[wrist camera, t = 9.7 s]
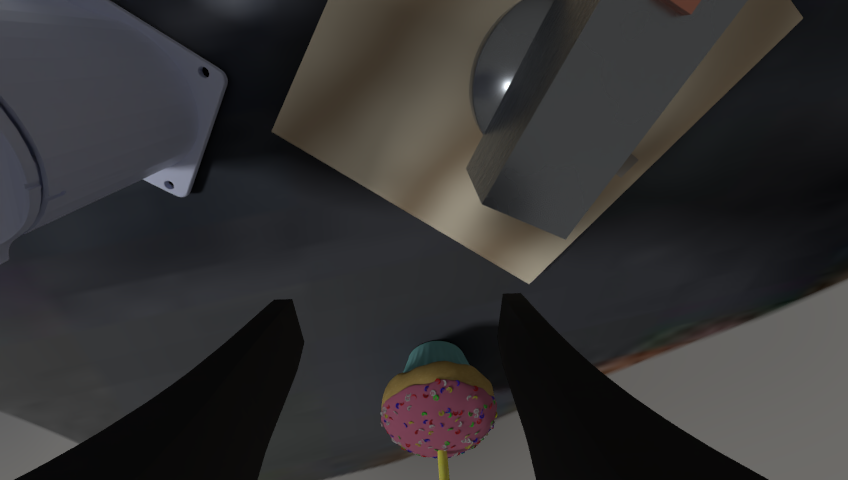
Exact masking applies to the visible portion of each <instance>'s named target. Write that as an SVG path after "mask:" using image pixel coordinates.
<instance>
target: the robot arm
mask: <svg viewBox="0 0 848 480" xmlns="http://www.w3.org/2000/svg"><path fill="white" fill-rule="evenodd" d="M203 67H205V68H206V69H207V70H208V71H209V77H206V76H205V75H204V74H203V72H202V69H203ZM227 84H228V79H227V76H226V74H225V72H224V71H222V70H221V69H220V68H218V67H217V66H215V65H213V64H212V63H210V62H209V61H207V60H205V59H204V58H202V57H201V56H199V55H197V54H196V53H194V52H192V51H191V50H189V49H188V48H186V47H184V46H183V45H181V44H180V43H178V42H176V41H175V40H173V39H172V38H170V37H168V36H167V35H165V34H164V33H162V32H160V31H159V30H157V29H155V28H154V27H152V26H151V25H149V24H147V23H146V22H144V21H143V20H141V19H139V18H138V17H136V16H135V15H133V14H131V13H130V12H128V11H127V10H125V9H123V8H122V7H120V6H118V5H117V4H115V3H114V2H112V1H110V0H0V264H2V263H4V262H6V261H8V260H9V253H8V251H9V246H10V244H11V243H12V241H14V240H15V239H16V238H17V237H19V236H21V235H24V234H26V233H28V232H30V231H32V230H35V229H37V228H39V227H41V226H43V225H45V224H47V223H50V222H52V221H54V220H56V219H58V218H60V217H62V216H65V215H67V214H69V213H71V212H73V211H75V210H77V209H80V208H82V207H84V206H86V205H88V204H90V203H92V202H95V201H97V200H99V199H101V198H103V197H105V196H107V195H110V194H112V193H114V192H116V191H118V190H120V189H122V188H125V187H127V186H129V185H131V184H133V183H135V182H137V181H140V180H142V179H143V180H145V181H147V182H149V183H151V184H153V185H155V186H157V187H159V188H161V189H163V190H166V191H168V192H170V193H172V194H174V195H176V196H178V197H185V196H187V195H188V194H189V193H190V192H191V189H192V186H193V183H194V181H195V178H196V175H197V172H198V169H199V166H200V163H201V160H202V157H203V154H204V151H205V149H206V146H207V143H208V140H209V137H210V134H211V131H212V128H213V125H214V122H215V119H216V116H217V114H218V111H219V108H220V105H221V102H222V99H223V96H224V93H225V90H226V87H227ZM169 181H170V182H172V183H173V185H174V187H173V186H171V185H170V184H169ZM497 338H498V344H499V349H500V354H501V359H502V363H503V367H504V370H505V373H506V377H507V380H508V383H509V386H510V389H511V392H512V395H513V398H514V401H515V404H516V407H517V410H518V413H519V416H520V419H521V423H522V426H523V428H524V432H525V435H526V439H527V442H528V446H529V451H530V455H531V459H532V464H533V468H534V472H535V476H536V480H768V479H766V478H765V477H763V476H761V475H759V474H757V473H756V472H754V471H752V470H750V469H749V468H747V467H745V466H743V465H741V464H740V463H738V462H736V461H734V460H732V459H730V458H729V457H727V456H725V455H723V454H722V453H720V452H718V451H716V450H714V449H713V448H711V447H709V446H708V445H706V444H705V443H703V442H701V441H700V440H698V439H696V438H695V437H693V436H692V435H690V434H688V433H686V432H685V431H683V430H682V429H680V428H678V427H677V426H675V425H674V424H672V423H671V422H669V421H668V420H666V419H664V418H663V417H662V416H660V415H659V414H657V413H656V412H654V411H653V410H651V409H650V408H649V407H647V406H646V405H644V404H643V403H641V402H640V401H638V400H637V399H636V398H634V397H633V396H632V395H630V394H629V393H627V392H626V391H625V390H623V389H622V388H621V387H619V386H618V385H617V384H616V383H614V382H613V381H612V380H611V379H609V378H608V377H607V376H606V375H604V374H603V373H602V372H600V371H599V370H598V369H597V368H596V367H595V366H593V365H592V364H591V363H590V362H589V361H588V360H586V359H585V358H584V357H583V356H582V355H581V354H580V353H579V352H578V351H576V350H575V349H574V348H573V347H572V346H571V345H570V344H569V343H568V342H567V341H566V340H565V339H564V338H563V337H562V336H561V335H560V334H559V333H558V332H557V331H556V330H555V329H554V328H553V327H552V326H551V325H550V324H549V323H548V322H547V321H546V320H545V319H544V318H543V317H542V316H541V314H540V313H539V312H538V311H537V310H536V309H535V308H534V307H533V306H532V305H531V304H530V303H529V301H528V300H527V299H526V298H525V297H524V296H523V295H522V294H521V293H514V294H503V297H502V305H501V312H500V320H499V327H498V335H497ZM303 346H304V339H303V336H302V332H301V329H300V325H299V322H298V318H297V315H296V311H295V307H294V304H293V300H292V299H286V300H274V301H272V302H271V303H270V304H269V305H268V306H266V307H265V308H264V309H263V310H262V311H261V312H260V313H258V314H257V315H256V316H255V317H254V318H253V319H252V320H251V321H250V322H248V323H247V324H246V325H245V326H244V327H243V328H242V329H240V330H239V331H238V332H237V333H236V334H235V335H234V336H232V337H231V338H230V339H229V340H228V341H227V342H226V343H224V344H223V345H222V346H221V347H220V348H218V349H217V350H216V351H215V352H213V353H212V354H211V355H210V356H208V357H207V358H206V359H205V360H204V361H202V362H201V363H200V364H199V365H197V366H196V367H195V368H194V369H192V370H191V371H190V372H189V373H187V374H186V375H185V376H183V377H182V378H181V379H179V380H178V381H176V382H175V383H174V384H172V385H171V386H170V387H168V388H167V389H165V390H164V391H162V392H161V393H160V394H158V395H157V396H155V397H154V398H152V399H151V400H150V401H148V402H147V403H145V404H143V405H142V406H140V407H139V408H137V409H136V410H134V411H132V412H131V413H129V414H128V415H126V416H125V417H123V418H122V419H120V420H118V421H117V422H115V423H114V424H112V425H111V426H109V427H107V428H106V429H104V430H103V431H101V432H99V433H98V434H96V435H94V436H92V437H91V438H89V439H87V440H86V441H84V442H82V443H80V444H79V445H77V446H76V447H74V448H72V449H70V450H68V451H66V452H65V453H63V454H61V455H59V456H58V457H56V458H54V459H52V460H51V461H49V462H47V463H45V464H43V465H41V466H39V467H38V468H36V469H34V470H32V471H30V472H28V473H26V474H25V475H22V476H20V477H19V478H17V479H15V480H257V479H258V476H259V472H260V469H261V466H262V462H263V459H264V455H265V452H266V449H267V447H268V444H269V441H270V438H271V436H272V433H273V431H274V428H275V426H276V423H277V421H278V418H279V415H280V413H281V410H282V408H283V405H284V403H285V400H286V398H287V395H288V393H289V390H290V388H291V385H292V383H293V380H294V377H295V375H296V372H297V369H298V365H299V362H300V358H301V354H302V350H303Z"/></svg>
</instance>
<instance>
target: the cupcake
mask: <svg viewBox="0 0 848 480" xmlns="http://www.w3.org/2000/svg"><path fill="white" fill-rule="evenodd" d="M496 409H497V403H496V400H495V398H494V394H493V388H492V384H491V383H490V381H489V380H488V379H487V378H485V377H484V376H483V375H482V374H481V373H480V372H479V371H478V370H477V369H476V368H474V367H473V366H471V365H469V363H468V361H467V360H466V358H465V356H464V354H463V352H462V351H461V349H460V348H458V347H457V346H456V345H454V344H452V343H449V342H445V341H431V342H426V343H424V344H421V345H419V346H418V347H416V348H415V349H414V350H413V351H412V352H411V354H410V356H409V359H408V362H407V364H406V367H405V369H404V372H403V373H399V374H397V375H396V376H395V377H394V378H393V379H392V380H391V381H390V382H389V383H388V385H387V387H386V389H385V392H384V395H383V400H382V412H381V413H380V414H381V415H382V417H381V421H382V422H381V426H382V427H385V429H386V431H387V433H388V434H389V435H390V436H391V437H392V441H393V440H394V441H393V442H394V443H396V444H399V445H400V446H401V448H402V449H403V450H406V449H407V450H408V452H412V453H414V454H416V455H419V456H423V457H433V458H438V465H439V479H440V480H449V469H448V458H450V457H451V456H454V455H455V456H458V455H459V454H460V453H461V454H463V453H464V452H465V451H466V450H470V449H473V448H475V447H476V446H477V445H478V444H479V443H480V441H481V440H483V439H484V437H486V436H487V435H488V432H489V431H490V430H491V429H490V428H492V429H493V428H494V423H495V422H494V419H495V418H496V417H497V412H496ZM382 423H383V425H382Z"/></svg>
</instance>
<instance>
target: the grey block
mask: <svg viewBox="0 0 848 480" xmlns="http://www.w3.org/2000/svg"><path fill="white" fill-rule="evenodd" d="M747 1H748V0H521V1H519V2H517V3H516V4H515V5H513V6H512V7H510V8H509V9H508V10H507V11H506V12H505V13H503V14H502V15H501V16H500V17H499V18H498V19H497V21H496V22H495V23H494V24H493V25H492V26H491V28H490V29H489V31H488V32H487V34H486V35H485V37H484V38H483V40H482V42H481V44H480V46H479V48H478V50H477V53H476V56H475V58H474V61H473V65H472V69H471V74H470V81H469V98H470V106H471V110H472V114H473V117H474V120H475V123H476V124H477V126H478V128H479V130H480V132H481V133H482V134H483V137H482V139H481V140H480V142H479V144H478V146H477V148H476V150H475V152H474V154H473V156H472V158H471V160H470V161H469V163H468V165H467V167H466V170H467V172H468V174H469V177H470V179H471V181H472V183H473V186H474V188H475V190H476V193H477V195H478V197H479V199H480V202H481V204H482V205H485V206H487V207H489V208H492V209H494V210H496V211H499V212H501V213H503V214H506V215H508V216H511V217H513V218H515V219H518V220H520V221H522V222H525V223H527V224H530V225H532V226H534V227H537V228H539V229H541V230H544V231H546V232H549V233H551V234H553V235H556V236H558V237H560V238H563V239H565V240H566V239H567V237H568V236H569V235H570V233H571V232H572V231H573V229H574V228H575V227H576V225H577V224H578V223H579V221H580V220H581V219H582V218H583V216H584V215H585V214H586V212H587V211H588V210H589V208H590V207H591V206H592V204H593V203H594V202H595V200H596V199H597V198H598V196H599V195H600V194H601V193H602V191H603V190H604V189H605V187H606V186H607V185H608V183H609V182H610V181H611V179H612V178H613V177H614V175H615V174H616V173H617V172H618V170H619V169H620V168H621V166H622V165H623V164H624V162H625V161H626V160H627V158H628V157H629V156H630V154H631V153H632V152H633V151H634V149H635V148H636V147H637V145H638V144H639V143H640V141H641V140H642V139H643V137H644V136H645V135H646V133H647V132H648V131H649V129H650V128H651V127H652V126H653V124H654V123H655V122H656V120H657V119H658V118H659V116H660V115H661V114H662V112H663V111H664V110H665V108H666V107H667V106H668V105H669V103H670V102H671V101H672V99H673V98H674V97H675V95H676V94H677V93H678V91H679V90H680V89H681V87H682V86H683V85H684V83H685V82H686V81H687V80H688V78H689V77H690V76H691V74H692V73H693V72H694V70H695V69H696V68H697V66H698V65H699V64H700V62H701V61H702V60H703V59H704V57H705V56H706V55H707V53H708V52H709V51H710V49H711V48H712V47H713V45H714V44H715V43H716V41H717V40H718V39H719V37H720V36H721V35H722V34H723V32H724V31H725V30H726V28H727V27H728V26H729V24H730V23H731V22H732V20H733V19H734V18H735V16H736V15H737V14H738V13H739V11H740V10H741V9H742V7H743V6H744V5H745V3H746V2H747Z"/></svg>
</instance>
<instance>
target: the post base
mask: <svg viewBox="0 0 848 480" xmlns="http://www.w3.org/2000/svg"><path fill="white" fill-rule="evenodd" d="M519 1H521V0H328V1H327V4H326V6H325V8H324V11H323V13H322V15H321V18H320V20H319V22H318V25H317V27H316V29H315V32H314V34H313V36H312V39H311V41H310V43H309V45H308V48H307V50H306V52H305V55H304V57H303V59H302V62H301V64H300V66H299V69H298V71H297V73H296V76H295V78H294V80H293V83H292V85H291V87H290V90H289V92H288V94H287V97H286V99H285V101H284V104H283V106H282V108H281V111H280V113H279V115H278V118H277V120H276V122H275V124H274V127H273V129H272V131H271V132H273V133H275V134H276V135H278V136H280V137H281V138H283V139H285V140H286V141H288V142H290V143H292V144H293V145H295V146H297V147H298V148H300V149H302V150H303V151H305V152H307V153H308V154H310V155H312V156H314V157H315V158H317V159H319V160H320V161H322V162H324V163H325V164H327V165H329V166H330V167H332V168H334V169H335V170H337V171H339V172H341V173H342V174H344V175H346V176H347V177H349V178H351V179H352V180H354V181H356V182H357V183H359V184H361V185H362V186H364V187H366V188H368V189H369V190H371V191H373V192H374V193H376V194H378V195H379V196H381V197H383V198H384V199H386V200H388V201H389V202H391V203H393V204H395V205H396V206H398V207H400V208H401V209H403V210H405V211H406V212H408V213H410V214H411V215H413V216H415V217H417V218H418V219H420V220H422V221H423V222H425V223H427V224H428V225H430V226H432V227H433V228H435V229H437V230H438V231H440V232H442V233H444V234H445V235H447V236H449V237H450V238H452V239H454V240H455V241H457V242H459V243H460V244H462V245H464V246H465V247H467V248H469V249H471V250H472V251H474V252H476V253H477V254H479V255H481V256H482V257H484V258H486V259H487V260H489V261H491V262H493V263H494V264H496V265H498V266H499V267H501V268H503V269H504V270H506V271H508V272H509V273H511V274H513V275H514V276H516V277H518V278H520V279H521V280H523V281H525V282H526V283H528V284H530V283H531V282H532V281H533V280H534V279H535V278H536V277H537V276H538V275H539V274H540V273H541V272H542V271H543V270H544V269H545V268H546V267H547V266H548V265H549V264H550V263H552V262H553V261H554V260H555V259H556V258H557V257H558V256H559V255H560V254H561V253H562V252H563V251H564V250H565V249H566V248H567V247H568V246H569V245H570V244H571V243H572V242H573V241H574V240H575V239H576V238H577V237H578V236H579V235H580V234H581V233H582V232H583V231H584V230H586V229H587V228H588V227H589V226H590V225H591V224H592V223H593V222H594V221H595V220H596V219H597V218H598V217H599V216H600V215H601V214H602V213H603V212H604V211H605V210H606V209H607V208H608V207H609V206H610V205H611V204H612V203H613V202H614V201H615V200H616V199H617V198H619V197H620V196H621V195H622V194H623V193H624V192H625V191H626V190H627V189H628V188H629V187H630V186H631V185H632V184H633V183H634V182H635V181H636V180H637V179H638V178H639V177H640V176H641V175H642V174H643V173H644V172H645V171H646V170H647V169H648V168H649V167H650V166H652V165H653V164H654V163H655V162H656V161H657V160H658V159H659V158H660V157H661V156H662V155H663V154H664V153H665V152H666V151H667V150H668V149H669V148H670V147H671V146H672V145H673V144H674V143H675V142H676V141H677V140H678V139H679V138H680V137H681V136H682V135H683V134H685V133H686V132H687V131H688V130H689V129H690V128H691V127H692V126H693V125H694V124H695V123H696V122H697V121H698V120H699V119H700V118H701V117H702V116H703V115H704V114H705V113H706V112H707V111H708V110H709V109H710V108H711V107H712V106H713V105H714V104H715V103H716V102H718V101H719V100H720V99H721V98H722V97H723V96H724V95H725V94H726V93H727V92H728V91H729V90H730V89H731V88H732V87H733V86H734V85H735V84H736V83H737V82H738V81H739V80H740V79H741V78H742V77H743V76H744V75H745V74H746V73H747V72H748V71H749V70H751V69H752V68H753V67H754V66H755V65H756V64H757V63H758V62H759V61H760V60H761V59H762V58H763V57H764V56H765V55H766V54H767V53H768V52H769V51H770V50H771V49H772V48H773V47H774V46H775V45H776V44H777V43H778V42H779V41H780V40H781V39H782V38H784V37H785V36H786V35H787V34H788V33H789V32H790V31H791V30H792V29H793V28H794V27H795V26H796V25H797V24H798V23H799V22H800V21H801V20H802V19H803V17H802V15H801V14H800V13H799V11H798V10H797V8H796V7H795V6H794V4H793V3H792V1H791V0H748V1H747V2H746V3H745V5H744V6H743V7H742V9H741V10H740V11H739V13H738V14H737V15H736V16H735V18H734V19H733V20H732V22H731V23H730V24H729V26H728V27H727V28H726V30H725V31H724V32H723V34H722V35H721V36H720V37H719V39H718V40H717V41H716V43H715V44H714V45H713V47H712V48H711V49H710V51H709V52H708V53H707V55H706V56H705V57H704V59H703V60H702V61H701V62H700V64H699V65H698V66H697V68H696V69H695V70H694V72H693V73H692V74H691V76H690V77H689V78H688V80H687V81H686V82H685V83H684V85H683V86H682V87H681V89H680V90H679V91H678V93H677V94H676V95H675V97H674V98H673V99H672V101H671V102H670V103H669V105H668V106H667V107H666V108H665V110H664V111H663V112H662V114H661V115H660V116H659V118H658V119H657V120H656V122H655V123H654V124H653V126H652V127H651V128H650V129H649V131H648V132H647V133H646V135H645V136H644V137H643V139H642V140H641V141H640V143H639V144H638V145H637V147H636V148H635V149H634V151H633V152H632V153H631V154H630V156H629V157H628V158H627V160H626V161H625V162H624V164H623V165H622V166H621V168H620V169H619V170H618V172H617V173H616V174H615V175H614V177H613V178H612V179H611V181H610V182H609V183H608V185H607V186H606V187H605V189H604V190H603V191H602V193H601V194H600V195H599V196H598V198H597V199H596V200H595V202H594V203H593V204H592V206H591V207H590V208H589V210H588V211H587V212H586V214H585V215H584V216H583V218H582V219H581V220H580V221H579V223H578V224H577V225H576V227H575V228H574V229H573V231H572V232H571V233H570V235H569V236H568V237H567V239H566V240H565V239H563V238H560V237H558V236H556V235H553V234H551V233H549V232H546V231H544V230H541V229H539V228H537V227H534V226H532V225H530V224H527V223H525V222H522V221H520V220H518V219H515V218H513V217H511V216H508V215H506V214H503V213H501V212H499V211H496V210H494V209H492V208H489V207H487V206H485V205H482V204H481V202H480V199H479V197H478V195H477V193H476V190H475V188H474V186H473V183H472V181H471V179H470V177H469V174H468V172H467V170H466V167H467V165H468V163H469V161H470V160H471V158H472V156H473V154H474V152H475V150H476V148H477V146H478V144H479V142H480V140H481V139H482V137H483V134H482V133H481V132H480V130H479V128H478V126H477V124H476V123H475V120H474V117H473V114H472V110H471V106H470V98H469V81H470V74H471V69H472V65H473V61H474V58H475V56H476V53H477V50H478V48H479V46H480V44H481V42H482V40H483V38H484V37H485V35H486V34H487V32H488V31H489V29H490V28H491V26H492V25H493V24H494V23H495V22H496V21H497V19H498V18H499V17H500V16H501V15H502V14H503V13H505V12H506V11H507V10H508V9H509V8H510V7H512V6H513V5H515V4H516V3H517V2H519Z"/></svg>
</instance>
